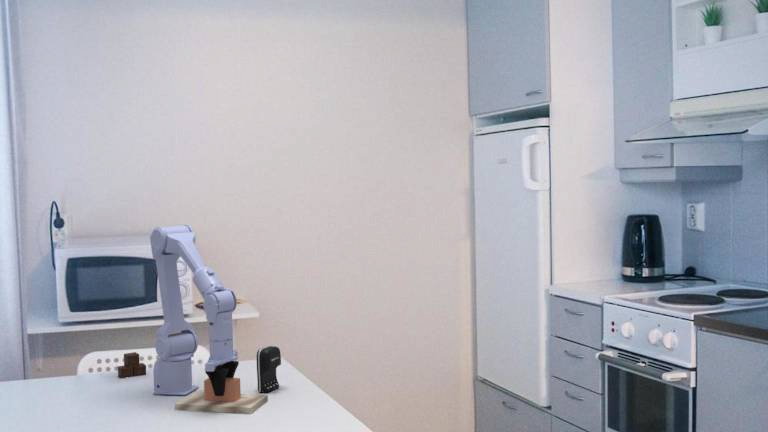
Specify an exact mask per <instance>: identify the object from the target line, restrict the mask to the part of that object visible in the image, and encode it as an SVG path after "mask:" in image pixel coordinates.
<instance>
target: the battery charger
mask: <svg viewBox="0 0 768 432" xmlns="http://www.w3.org/2000/svg"><path fill="white" fill-rule="evenodd" d="M281 365H282V357H281V350H280V348H279V347H278V346H272V345H267V346H263V347H262V348H259V349H258V350H257V352H256V375H257V376H256V377H257V392H259V393H269V392H272V391H275V390H276V389H278V388H279V387H280V384H279V381H278V378H277V368H278V367H279V366H281Z"/></svg>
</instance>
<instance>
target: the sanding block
mask: <svg viewBox="0 0 768 432" xmlns="http://www.w3.org/2000/svg"><path fill="white" fill-rule="evenodd" d="M203 389H204V391H203V392H204V395H205V401H221V402H236V401H237V400H239V399H240V398H241V394H242V393H241V378H240V377H234V378H226V381H225V392H224V396H215V394H214V390H213V387H212V384H211V381H210V379H209V377H208V378H206V379H204V380H203Z"/></svg>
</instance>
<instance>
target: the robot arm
mask: <svg viewBox="0 0 768 432" xmlns="http://www.w3.org/2000/svg"><path fill="white" fill-rule="evenodd" d="M149 240H150V242H149V243H150V247H151V248H150V249H151V255H152V259H154V260H155V265H156V273H157V278H158V279H157V280H158V285H159V286H158V287H159V294H160V300H161V308H162V315H163V324H161V326H160V327H159V328H158V329H157V330H156V332H155V345H154V346H155V348H154V349H155V352H156V354H157V356H158V358H157V359H156V360H155V361H154V363H153V369H152V370H153V372H152V373H153V391H152V394H153V395H164V396H165V395H166V396H167V395H170V396H188V395H189V394H191V393H193V391H195V390H197V389H198V388H199V385H193V372H192V369H193V368H192V367H193V366H192V358H194V356H195V355H194V354H195V353H196V352H197V349H198V346H199V342H198V337H197V335H196V332H195V329H194V325H193V324H192V323H190V322H188V321H187V320H186V319H185V313H184V307H183V299H182V293H181V285H180V279H179V278H180V277H179V272H178V264H177V263H178V260H179V259H180V258H181V259H182V260H183V261H184V263H185V264H186V266H187V267H188V268H189V270H190V271H191V272H192V273H193V276H192V282H193V284H194V286H195V287H196V288H197V290H198V292H199V294H200V295H201V297H202V299H203V302H202V306H203V307H202V308H203V310H204V312H205V314H206V315H205V316H206V318H205V319H206V321H207V322H208V332H209V333H208V336H209V337H208V339H209V358H208V359H207V362H206V363H204V372H205V375H206V376H207V377H208V378H209V379H210V381H211V384H212V387H213V390H214V394H215V396H224V392H225V381H226V378H235V373H236V371H237V368H238V366H239V364H240V363H239V361H238V360H239V356H238V350H237V349H235V350H234V334H233V328H234V326H233V312H234V311H235V310H236V308H237V305H238V304H237V303H238V302H237V300H238V299H237V296H236V294H235V293H234V290H233V289H231V288H228V287H227V286H224V284H223V283H222V281H221V280H220V278H219V277H218V275H217V274H216V272H215V271H214V268H212V267H210V266H209V267H207V266H206V264H205V262H204V260H203V258H202V256H201V254H200V252H199V251H198V248H197V246H196V234H195V233H194V230H193V228H192V227H191V226H190V225H189V224H183V225H172V226H155V227H154V228H153V230H152V232H151V235H150V237H149Z"/></svg>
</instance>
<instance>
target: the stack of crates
mask: <svg viewBox="0 0 768 432" xmlns="http://www.w3.org/2000/svg"><path fill="white" fill-rule="evenodd" d="M146 375H147V364H145V363H143V362H140V354H139V353H138V352H129V353H128V352H127V353H123V365H118V366H117V377H118V378H119V379H121V378H122V379H127V378H126V377H128V378H133V377H140V376H146Z"/></svg>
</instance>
